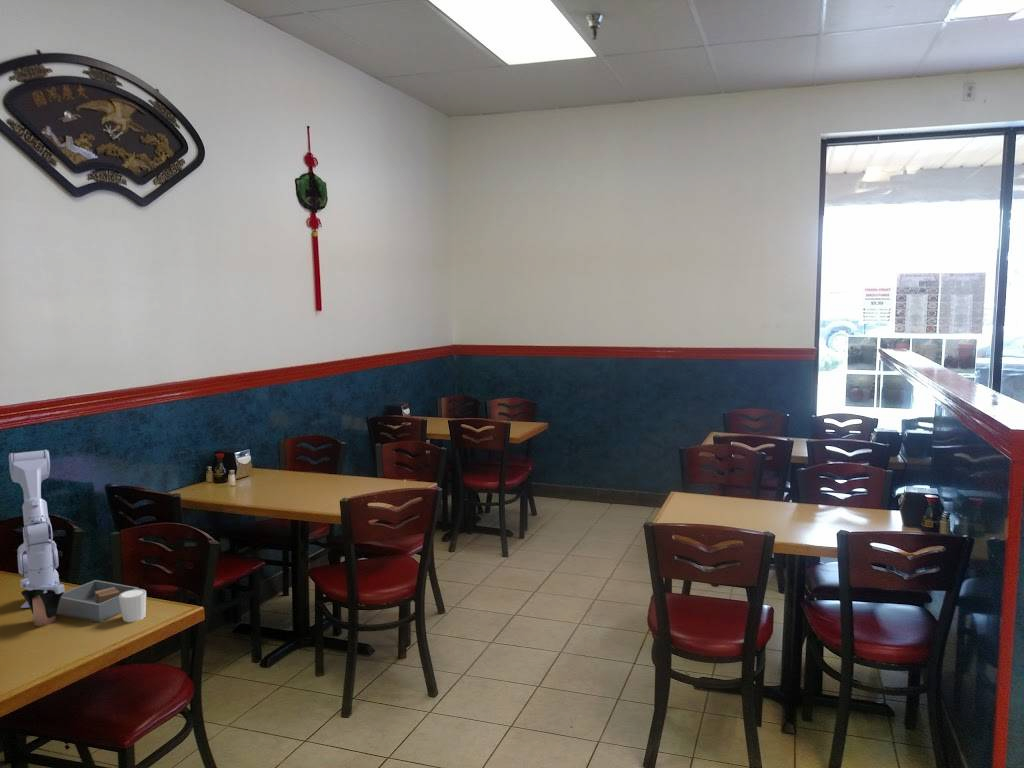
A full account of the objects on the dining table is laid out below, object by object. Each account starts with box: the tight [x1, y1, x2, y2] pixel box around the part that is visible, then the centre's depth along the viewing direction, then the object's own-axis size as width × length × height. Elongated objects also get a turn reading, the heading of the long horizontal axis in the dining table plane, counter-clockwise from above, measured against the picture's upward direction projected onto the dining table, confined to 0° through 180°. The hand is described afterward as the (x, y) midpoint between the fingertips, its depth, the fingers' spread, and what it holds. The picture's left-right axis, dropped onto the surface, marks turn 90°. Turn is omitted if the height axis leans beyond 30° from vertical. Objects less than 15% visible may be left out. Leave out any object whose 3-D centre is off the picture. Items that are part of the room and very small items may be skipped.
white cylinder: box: [119, 588, 147, 623], centre depth 210 cm, size 7×7×7 cm
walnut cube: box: [95, 587, 120, 604], centre depth 215 cm, size 5×5×5 cm
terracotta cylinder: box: [32, 595, 57, 627], centre depth 208 cm, size 5×5×7 cm
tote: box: [56, 579, 140, 623], centre depth 216 cm, size 17×13×5 cm
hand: (44, 615), depth 208 cm, fingers closed on terracotta cylinder, 5 cm apart
